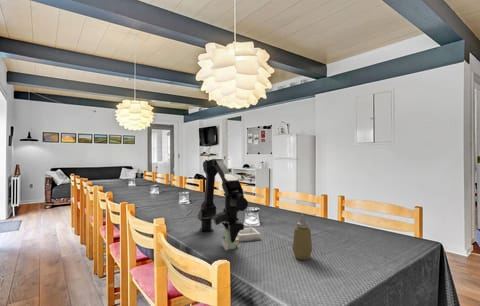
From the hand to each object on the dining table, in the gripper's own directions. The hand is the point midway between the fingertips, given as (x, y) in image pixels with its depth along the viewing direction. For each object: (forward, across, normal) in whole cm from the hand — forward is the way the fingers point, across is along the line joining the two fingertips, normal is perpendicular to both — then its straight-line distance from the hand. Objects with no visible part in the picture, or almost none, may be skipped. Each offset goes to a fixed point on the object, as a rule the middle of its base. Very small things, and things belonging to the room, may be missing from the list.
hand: (230, 240), depth 125 cm
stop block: (+3, 0, 0) cm, 3 cm away
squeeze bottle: (+3, +20, +25) cm, 32 cm away
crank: (+2, -9, +3) cm, 10 cm away
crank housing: (+3, -4, +1) cm, 5 cm away
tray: (+3, -12, +12) cm, 17 cm away
